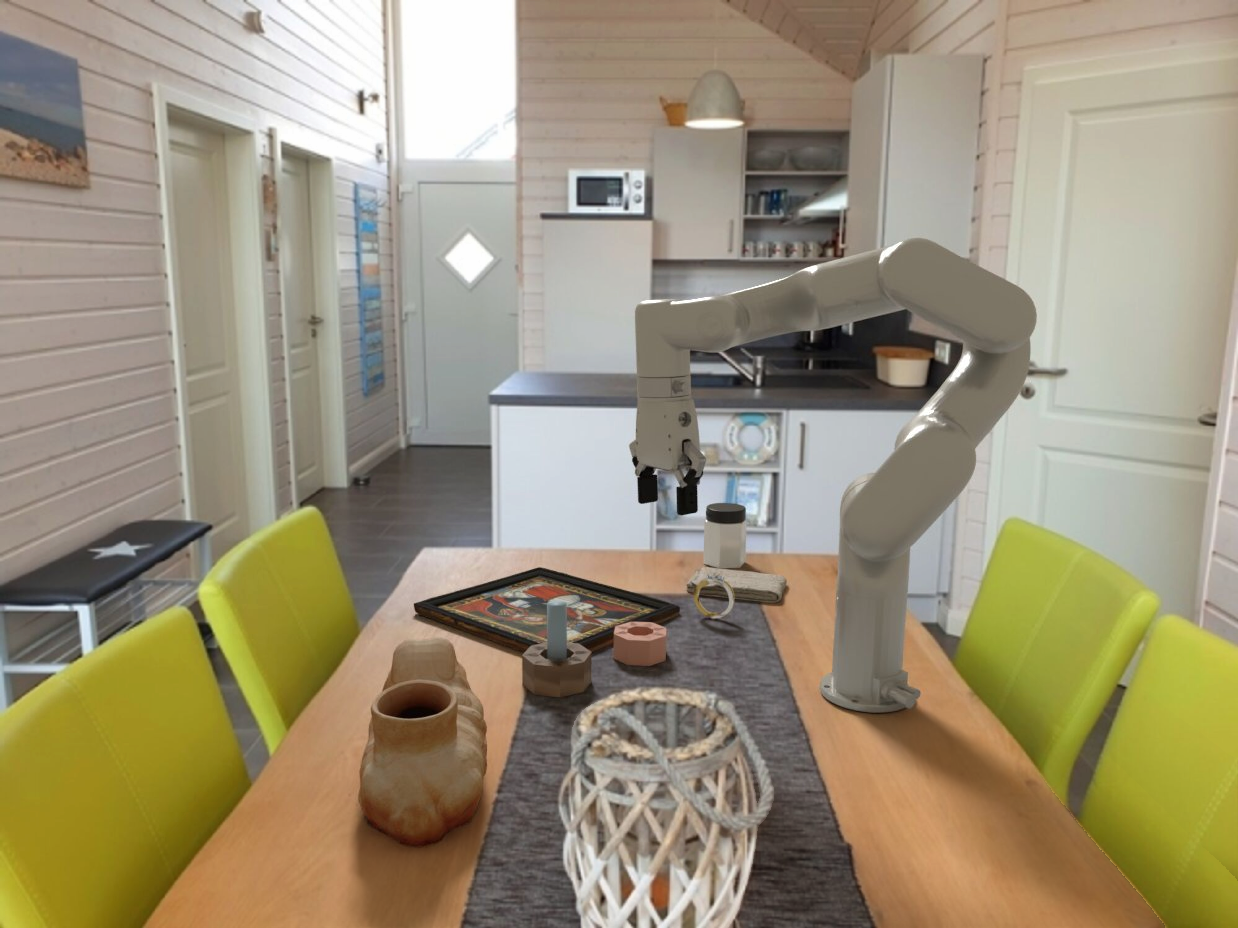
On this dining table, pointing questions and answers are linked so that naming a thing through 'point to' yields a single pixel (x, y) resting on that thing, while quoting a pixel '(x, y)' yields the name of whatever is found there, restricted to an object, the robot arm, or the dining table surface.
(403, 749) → the ceramic vessel
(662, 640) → the pink octagonal nut
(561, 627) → the dowel
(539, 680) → the bead
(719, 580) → the ring
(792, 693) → the dining table surface
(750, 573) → the washcloth
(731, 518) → the jar
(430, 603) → the religious icon
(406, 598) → the dining table surface
